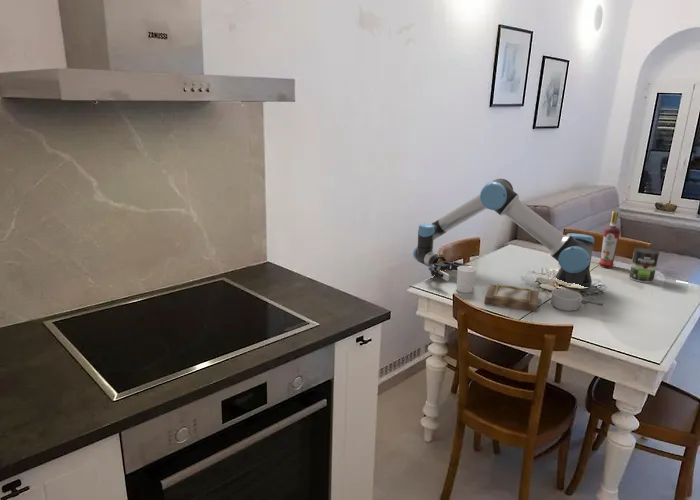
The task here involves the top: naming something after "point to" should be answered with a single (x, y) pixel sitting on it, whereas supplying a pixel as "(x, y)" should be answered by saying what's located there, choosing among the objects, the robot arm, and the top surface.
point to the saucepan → (568, 299)
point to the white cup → (465, 278)
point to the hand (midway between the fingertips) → (461, 276)
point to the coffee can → (644, 265)
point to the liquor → (610, 243)
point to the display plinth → (512, 297)
